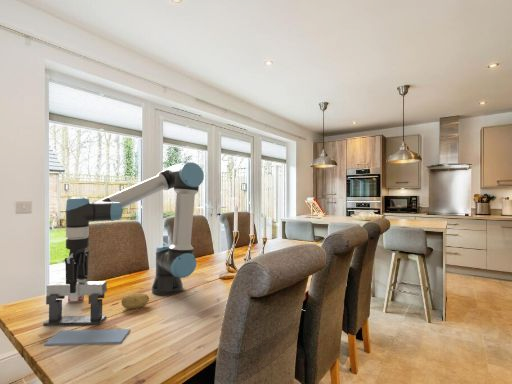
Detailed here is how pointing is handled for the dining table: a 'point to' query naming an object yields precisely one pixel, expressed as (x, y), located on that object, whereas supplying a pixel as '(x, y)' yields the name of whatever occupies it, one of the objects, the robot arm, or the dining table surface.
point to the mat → (88, 337)
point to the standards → (58, 319)
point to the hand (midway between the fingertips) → (77, 298)
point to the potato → (134, 300)
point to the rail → (83, 288)
